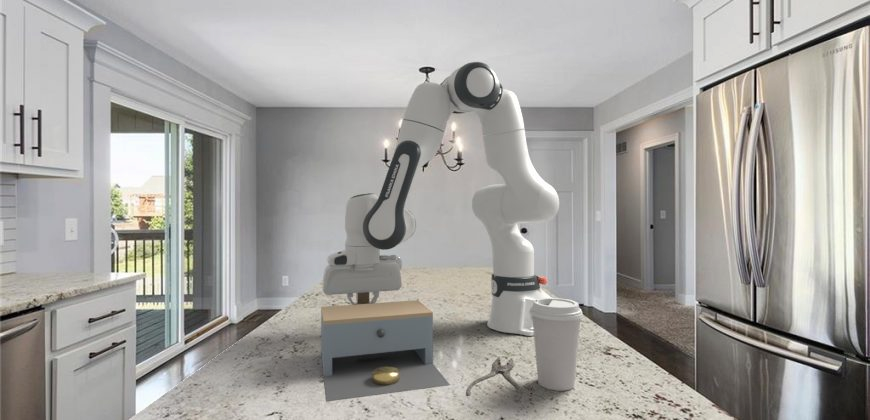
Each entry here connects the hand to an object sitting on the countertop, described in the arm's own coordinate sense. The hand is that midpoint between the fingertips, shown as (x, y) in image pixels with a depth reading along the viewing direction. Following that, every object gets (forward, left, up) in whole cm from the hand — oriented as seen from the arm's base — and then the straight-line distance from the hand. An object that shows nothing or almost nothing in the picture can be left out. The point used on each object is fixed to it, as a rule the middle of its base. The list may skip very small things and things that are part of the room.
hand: (362, 309), depth 111 cm
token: (0, +32, -6) cm, 32 cm away
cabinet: (0, +20, -6) cm, 21 cm away
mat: (0, +25, -6) cm, 26 cm away
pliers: (-20, +36, -7) cm, 42 cm away
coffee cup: (-30, +42, -6) cm, 52 cm away
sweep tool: (0, +10, -6) cm, 11 cm away
